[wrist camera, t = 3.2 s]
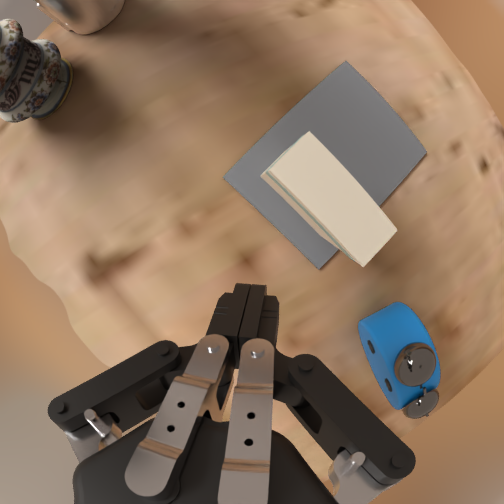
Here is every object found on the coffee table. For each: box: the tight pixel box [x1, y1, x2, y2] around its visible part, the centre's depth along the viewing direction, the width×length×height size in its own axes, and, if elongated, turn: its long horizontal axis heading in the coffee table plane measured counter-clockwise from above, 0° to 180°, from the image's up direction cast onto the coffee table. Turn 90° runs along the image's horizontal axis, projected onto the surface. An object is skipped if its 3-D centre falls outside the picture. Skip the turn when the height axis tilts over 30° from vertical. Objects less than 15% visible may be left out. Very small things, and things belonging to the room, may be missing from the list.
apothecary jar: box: [0, 19, 73, 122], centre depth 21 cm, size 12×12×18 cm
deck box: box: [260, 131, 397, 267], centre depth 27 cm, size 4×10×14 cm, turn 46°
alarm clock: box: [358, 302, 440, 419], centre depth 32 cm, size 13×6×15 cm, turn 25°
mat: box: [223, 61, 427, 269], centre depth 33 cm, size 22×16×1 cm
